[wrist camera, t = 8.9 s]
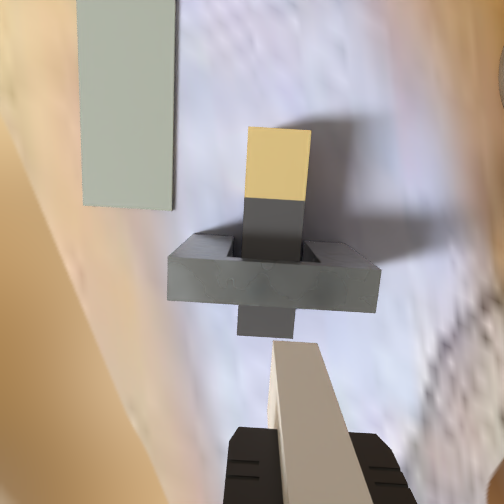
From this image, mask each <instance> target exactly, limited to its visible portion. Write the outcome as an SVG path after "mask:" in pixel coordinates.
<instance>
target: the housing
mask: <svg viewBox="0 0 504 504" xmlns="http://www.w3.org/2000/svg"><path fill="white" fill-rule="evenodd" d="M233 245H234V236H224V235H208V234H192V235H191V236H190V237H189V238H188V239H187V240H186V241H185V242H184V243H183V244H181V245H180V246H179V247H178V248H177V249H176V250H175V251H174V252H173V253H171V254H170V255H169V256H168V280H167V300H169V301H185V302H201V303H218V304H234V305H250V306H267V307H283V308H299V309H316V310H332V311H348V312H364V313H376V307H377V299H378V292H379V285H380V278H381V269H380V268H378V267H377V266H375V265H374V264H373V263H371V262H370V261H369V260H367V259H366V258H364V257H363V256H362V255H360V254H359V253H357V252H356V251H355V250H353V249H352V248H351V247H349V246H348V245H346V244H345V243H336V242H320V241H304V246H303V257H302V262H299V261H283V260H267V259H251V258H235V257H233Z"/></svg>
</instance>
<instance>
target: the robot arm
mask: <svg viewBox="0 0 504 504" xmlns="http://www.w3.org/2000/svg"><path fill="white" fill-rule="evenodd" d="M267 416H268V429H266V428H250V427H238V429H237V430H236V432H235V433H234V435H233V436H232V438H231V439H230V441H229V448H228V459H227V469H226V479H225V489H224V499H223V504H417V502H416V500H415V498H414V496H413V494H412V492H411V490H410V488H408V484H407V481H406V479H405V477H404V475H403V473H402V472H401V471H400V467H399V465H398V463H397V461H396V458H395V456H394V454H393V452H392V450H391V449H390V448H389V447H388V446H387V445H386V444H385V443H384V442H383V441H382V440H381V439H380V438H379V437H378V436H377V435H376V434H370V433H354V432H348V430H347V427H346V424H345V421H344V418H343V416H342V413H341V410H340V407H339V404H338V401H337V398H336V395H335V393H334V390H333V387H332V384H331V381H330V378H329V375H328V372H327V370H326V367H325V364H324V361H323V358H322V355H321V352H320V350H319V347H318V344H317V343H305V342H289V341H273V348H272V360H271V372H270V384H269V396H268V408H267Z"/></svg>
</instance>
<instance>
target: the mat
mask: <svg viewBox="0 0 504 504" xmlns="http://www.w3.org/2000/svg"><path fill="white" fill-rule="evenodd" d="M76 2H77V33H78V64H79V95H80V125H81V156H82V187H83V205H85V206H101V207H117V208H133V209H149V210H165V211H172V195H173V137H174V78H175V20H176V0H76Z"/></svg>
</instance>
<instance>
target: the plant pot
mask: <svg viewBox="0 0 504 504" xmlns="http://www.w3.org/2000/svg"><path fill="white" fill-rule="evenodd" d="M499 91H500V96H501V100H502V104H503V107H504V47H503V51H502V54H501V58H500V66H499Z"/></svg>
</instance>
